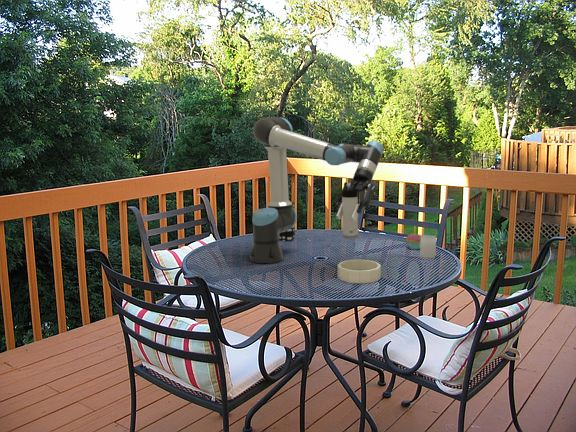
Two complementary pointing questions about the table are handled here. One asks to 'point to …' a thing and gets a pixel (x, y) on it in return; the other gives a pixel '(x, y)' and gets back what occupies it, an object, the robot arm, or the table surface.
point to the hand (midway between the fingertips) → (345, 218)
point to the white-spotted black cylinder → (288, 233)
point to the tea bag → (428, 246)
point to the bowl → (359, 271)
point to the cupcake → (414, 240)
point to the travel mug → (349, 213)
